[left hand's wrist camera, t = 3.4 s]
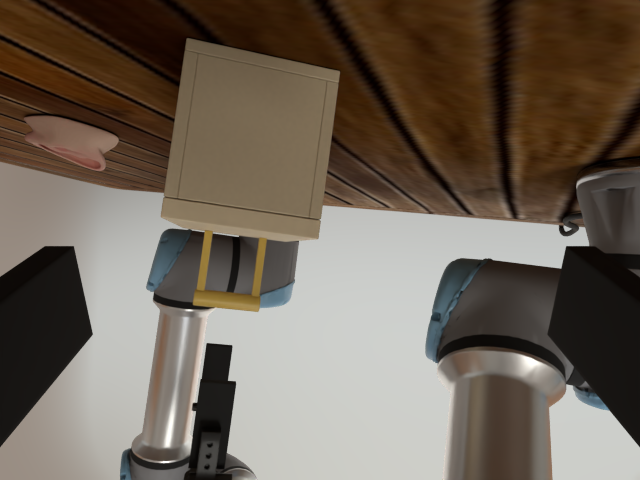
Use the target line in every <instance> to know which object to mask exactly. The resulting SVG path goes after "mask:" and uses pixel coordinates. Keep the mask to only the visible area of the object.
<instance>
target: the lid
mask: <svg viewBox="0 0 640 480" xmlns="http://www.w3.org/2000/svg"><path fill="white" fill-rule="evenodd" d="M161 217H162V218H164V219H166V220H168V221H170V222H172V223H174V224H176V225H178V226H180V227H183V228H188V229H195V230H202V231H205V233H204V241H203V248H202V255H201V262H200V269H199V276H198V283H197V289H195V292H194V298H193V305H196V306H205V307H215V308H225V309H235V310H244V311H254V312H258V311H259V308H260V300H261V297H260V296H259V294H260V286H261V279H262V272H263V264H264V257H265V249H266V242H267V239H268V240H276V241H283V242H289V241H302V240H314V239H318V237H319V230H320V222H321V221H320V220H315V219H308V218H301V217H294V216H288V215H281V214H274V213H267V212H261V211H254V210H247V209H240V208H234V207H227V206H220V205H213V204H207V203H200V202H193V201H186V200H180V199H173V198H166V197H164V198H163V204H162V211H161ZM213 232H217V233H224V234H232V235H239V236H246V237H254V238H259V242H258V249H257V256H256V264H255V271H254V278H253V286H252V293H251V295H249V294H240V293H231V292H222V291H213V290H205V284H206V277H207V270H208V263H209V256H210V248H211V241H212V234H213Z"/></svg>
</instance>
